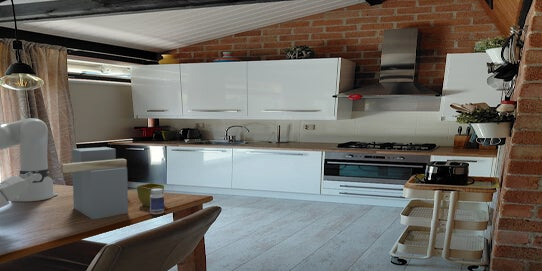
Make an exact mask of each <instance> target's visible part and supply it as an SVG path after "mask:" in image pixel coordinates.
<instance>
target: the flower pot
mask: <svg viewBox="0 0 542 271" xmlns="http://www.w3.org/2000/svg"><path fill="white" fill-rule="evenodd" d="M158 188H159V189H163V192H162V194H163V195H164V190H165V185H164V184H161V183H160V184H159V183H153V182H150V183H144V184H141V185H137V186H136V190H137V196H138V200H139V202H140V203H141V205H142V206H147V207H150V195H151V194H152V193H151V190H152V189H158Z"/></svg>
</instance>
